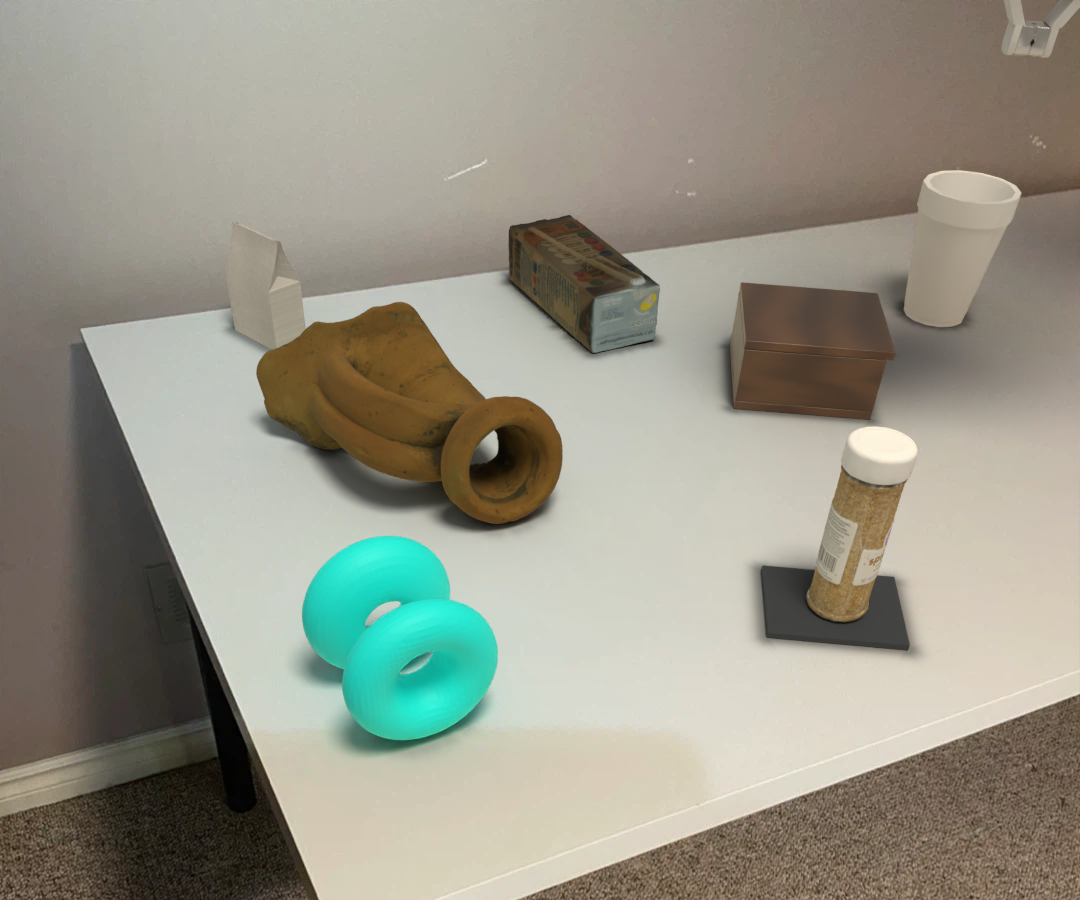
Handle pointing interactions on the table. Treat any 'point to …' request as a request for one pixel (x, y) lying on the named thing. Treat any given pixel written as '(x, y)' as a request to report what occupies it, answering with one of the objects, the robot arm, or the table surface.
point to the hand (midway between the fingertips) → (1024, 54)
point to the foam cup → (955, 242)
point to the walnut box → (802, 380)
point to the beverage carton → (583, 283)
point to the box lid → (814, 321)
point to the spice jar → (860, 521)
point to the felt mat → (800, 622)
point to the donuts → (399, 638)
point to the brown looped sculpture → (411, 412)
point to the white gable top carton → (263, 289)
